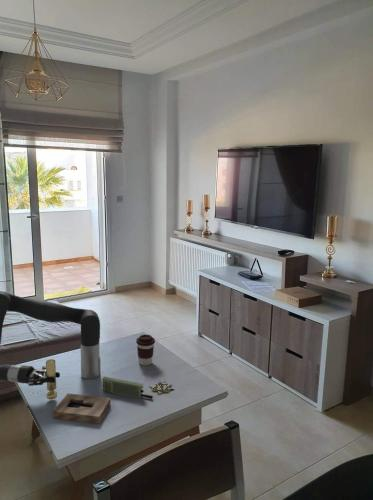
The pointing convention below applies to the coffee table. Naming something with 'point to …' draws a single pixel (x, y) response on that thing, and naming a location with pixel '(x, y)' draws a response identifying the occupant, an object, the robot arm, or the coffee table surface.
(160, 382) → the lily flower
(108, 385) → the handheld radio
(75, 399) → the keyhole plate
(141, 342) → the coffee cup
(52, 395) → the brass peg
